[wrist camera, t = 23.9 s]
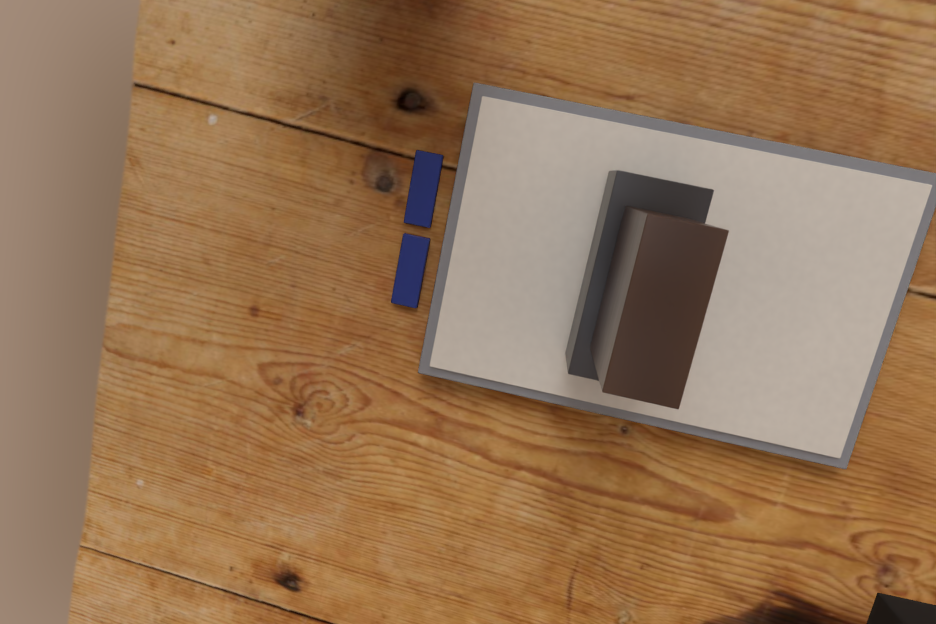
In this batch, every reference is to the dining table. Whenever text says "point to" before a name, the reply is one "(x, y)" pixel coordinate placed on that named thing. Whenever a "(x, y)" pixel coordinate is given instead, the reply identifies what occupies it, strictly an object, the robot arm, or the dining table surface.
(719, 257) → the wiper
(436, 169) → the blue flat block
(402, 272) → the smudge
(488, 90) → the whiteboard
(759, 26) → the dining table surface
